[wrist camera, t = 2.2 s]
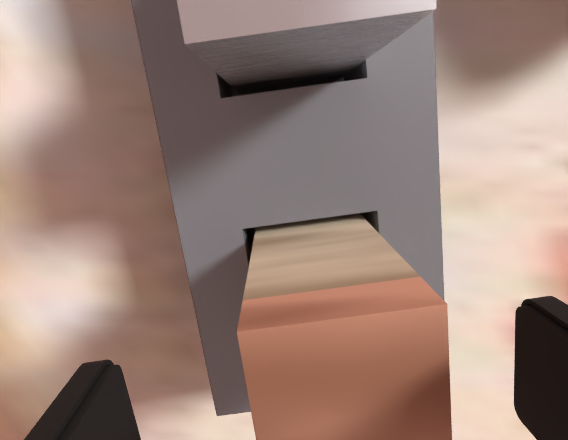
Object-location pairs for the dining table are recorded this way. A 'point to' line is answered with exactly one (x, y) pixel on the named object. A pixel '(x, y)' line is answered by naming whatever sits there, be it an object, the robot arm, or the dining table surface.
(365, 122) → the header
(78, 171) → the dining table surface
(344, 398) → the birch plug
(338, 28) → the metal plug
